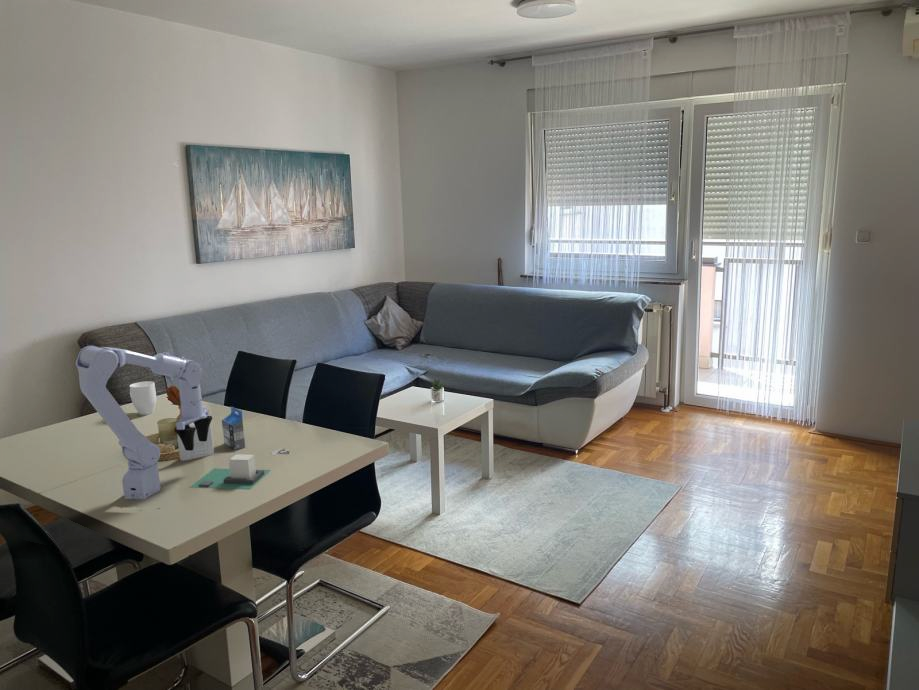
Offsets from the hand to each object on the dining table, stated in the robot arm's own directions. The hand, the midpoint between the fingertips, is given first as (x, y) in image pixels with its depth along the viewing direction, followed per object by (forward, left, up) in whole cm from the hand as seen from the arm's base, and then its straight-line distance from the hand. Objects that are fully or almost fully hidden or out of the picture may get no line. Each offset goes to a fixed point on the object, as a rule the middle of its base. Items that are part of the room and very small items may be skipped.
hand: (196, 445), depth 202 cm
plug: (-4, -16, -8) cm, 18 cm away
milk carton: (+26, +2, -10) cm, 28 cm away
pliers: (+14, -14, -10) cm, 23 cm away
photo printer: (+13, +8, -10) cm, 18 cm away
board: (-4, -12, -9) cm, 16 cm away
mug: (+60, +57, -10) cm, 83 cm away
